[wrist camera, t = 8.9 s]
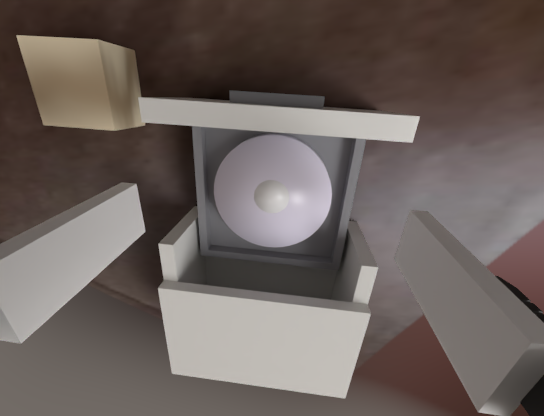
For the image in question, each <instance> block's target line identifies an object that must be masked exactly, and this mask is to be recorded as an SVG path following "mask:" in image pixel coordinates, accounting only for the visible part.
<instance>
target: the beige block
mask: <svg viewBox="0 0 544 416" xmlns="http://www.w3.org/2000/svg"><path fill="white" fill-rule="evenodd" d="M16 37H17V40H18V43H19V46H20V50H21V53H22V56H23V60H24V63H25V66H26V70H27V73H28V76H29V79H30V83H31V86H32V89H33V93H34V96H35V99H36V102H37V106H38V109H39V112H40V116H41V119H42V122H43V125H48V126H60V127H73V128H86V129H99V130H112V131H117V130H122V129H128V128H134V127H139V126H145V122H142V120H141V114H140V107H139V100H138V97H141V91H140V84H139V77H138V70H137V63H136V56H135V50H132V49H129V48H125V47H122V46H118V45H115V44H112V43H108V42H105V41H101V40H98V39H80V38H62V37H43V36H24V35H16Z"/></svg>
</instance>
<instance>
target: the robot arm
mask: <svg viewBox="0 0 544 416" xmlns="http://www.w3.org/2000/svg"><path fill="white" fill-rule="evenodd" d="M145 232H146V231H145V226H144V221H143V215H142V210H141V205H140V200H139V194H138V189H137V184H134V183H123V182H122V183H120V184H118V185H116V186H114V187H112V188H110V189H108V190H106V191H104V192H102V193H100V194H98V195H96V196H94V197H92V198H90V199H88V200H86V201H84V202H82V203H80V204H78V205H76V206H74V207H72V208H70V209H68V210H66V211H64V212H63V213H61V214H59V215H57V216H55V217H53V218H51V219H49V220H47V221H45V222H43V223H41V224H39V225H37V226H35V227H33V228H31V229H29V230H27V231H25V232H23V233H21V234H19V235H17V236H15V237H13V238H11V239H9V240H7V241H5V242H3V243H1V244H0V340H1V341H8V342H14V343H22V342H23V341H24V340H26V339H27V338H28V337H29V336H30V335H31V334H32V333H33V332H35V331H36V330H37V329H38V328H39V327H40V326H41V325H42V324H43V323H45V322H46V321H47V320H48V319H49V318H50V317H51V316H52V315H53V314H55V313H56V312H57V311H58V310H59V309H60V308H61V307H62V306H63V305H64V304H66V303H67V302H68V301H69V300H70V299H71V298H72V297H73V296H75V295H76V294H77V293H78V292H79V291H80V290H81V289H82V288H83V287H85V286H86V285H87V284H88V283H89V282H90V281H91V280H92V279H93V278H95V277H96V276H97V275H98V274H99V273H100V272H101V271H102V270H103V269H105V268H106V267H107V266H108V265H109V264H110V263H111V262H112V261H113V260H115V259H116V258H117V257H118V256H119V255H120V254H121V253H122V252H123V251H125V250H126V249H127V248H128V247H129V246H130V245H131V244H132V243H133V242H135V241H136V240H137V239H138V238H139V237H140V236H141V235H142V234H143V233H145ZM394 260H395V262H396V264H397V265H398V267H399V269H400V271H401V273H402V274H403V276H404V278H405V280H406V282H407V284H408V285H409V287H410V289H411V291H412V293H413V295H414V296H415V298H416V300H417V302H418V304H419V305H420V307H421V309H422V311H423V313H424V315H425V316H426V318H427V320H428V322H429V324H430V325H431V327H432V329H433V331H434V333H435V335H436V336H437V338H438V340H439V342H440V344H441V346H442V347H443V349H444V351H445V353H446V354H447V356H448V358H449V360H450V362H451V364H452V366H453V367H454V369H455V371H456V373H457V375H458V376H459V378H460V380H461V382H462V384H463V386H464V387H465V389H466V391H467V393H468V395H469V397H470V398H471V400H472V402H473V404H474V406H475V407H476V409H477V411H478V412H480V413H486V414H493V415H500V416H510V415H511V414H512V413H513V412H514V410H515V409H516V408H517V407H518V406H519V405H520V404H522V406H523V407H524V408H525V410H526V411H527V413H528V414H529V415H530V416H544V314H542V311H541V310H540V309H539V308H538V307H537V306H536V305H535V304H533V303H530V300H529V299H528V298H527V297H526V296H525V295H524V294H523V293H522V292H520V291H519V290H518V289H517V288H516V287H514V286H513V285H511V284H510V283H508V282H506V281H505V280H503V279H502V278H500V277H498V276H494V275H493V274H492V273H491V272H490V271H489V270H488V269H487V268H486V267H485V266H484V265H483V264H482V263H481V262H480V261H479V260H478V259H477V258H476V257H475V256H473V255H472V254H471V253H470V252H469V251H468V250H467V249H466V248H465V247H464V246H463V245H462V244H461V243H460V242H459V241H458V240H457V239H456V238H455V237H454V236H453V235H452V234H451V233H449V232H448V231H447V230H446V229H445V228H444V227H443V226H442V225H441V224H440V223H439V222H438V221H437V220H436V219H435V218H434V217H433V216H432V215H431V214H430V213H429V212H427V211H416V210H410V212H409V215H408V218H407V221H406V224H405V227H404V230H403V233H402V236H401V239H400V242H399V245H398V248H397V251H396V254H395V257H394Z"/></svg>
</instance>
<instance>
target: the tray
mask: <svg viewBox="0 0 544 416" xmlns="http://www.w3.org/2000/svg"><path fill="white" fill-rule="evenodd" d="M229 92H230V100H215V99H200V98H174V97H138V100H139V107H140V114H141V120H142V122H145V123H159V124H172V125H185V126H192V135H193V150H194V164H195V178H196V193H197V207H198V221H199V236H200V250H201V255H202V256H211V257H220V258H229V259H238V260H247V261H256V262H265V263H274V264H283V265H293V266H302V267H311V268H320V269H329V270H338V271H339V266H340V261H341V257H342V252H343V247H344V242H345V238H346V233H347V228H348V223H349V219H350V214H351V209H352V204H353V200H354V195H355V190H356V186H357V181H358V176H359V171H360V167H361V162H362V157H363V152H364V148H365V143H366V139H372V140H385V141H398V142H411V143H412V142H413V139H414V136H415V132H416V129H417V125H418V122H419V118H420V116H413V115H407V114H400V113H393V112H387V111H378V110H363V109H349V108H334V107H324V99H325V97H324V96H309V95H293V94H278V93H262V92H247V91H231V90H229ZM266 133H281V134H286V135H290V136H293V137H295V138H298V139H300V140H302V141H303V142H305V143H307V144H308V145H309V146H310V147H311V148H313V149H314V151H315V152H316V153H317V154H318V155H319V157H320V158H321V160H322V161H323V163H324V165H325V167H326V170H327V173H328V176H329V179H330V182H331V188H332V199H331V205H330V209H329V212H328V215H327V217H326V219H325V220H324V222H323V224H322V225H321V226H320V227H319V229H318V230H317V231H316V232H315V233H314V234H312V235H311V236H310V237H308V238H307V239H305V240H303V241H301V242H299V243H297V244H294V245H290V246H285V247H265V246H260V245H256V244H253V243H251V242H248V241H247V240H245V239H243V238H241V237H240V236H238V235H237V234H236V233H234V232H233V231H232V230H231V229H230V228H229V227H228V226H227V225H226V223H225V222H224V220H223V219H222V217H221V215H220V214H219V211H218V209H217V206H216V202H215V198H214V182H215V177H216V174H217V171H218V168H219V166H220V164H221V163H222V161H223V160H224V158H225V157H226V156H227V155H228V154H229V153H230V152H231V151H232V150H233V149H234V148H236V147H237V146H238V145H239V144H241V143H242V142H244V141H245V140H247V139H249V138H251V137H254V136H257V135H260V134H266Z"/></svg>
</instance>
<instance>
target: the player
mask: <svg viewBox="0 0 544 416" xmlns="http://www.w3.org/2000/svg"><path fill="white" fill-rule="evenodd" d="M158 245H159V252H160V258H161V265H162V272H163V278H164V280H163V282H162V283H161V285H160V286H159V287H158V292H159V298H160V304H161V310H162V316H163V322H164V328H165V334H166V340H167V346H168V352H169V358H170V364H171V370H172V374H179V375H186V376H192V377H199V378H207V379H214V380H220V381H227V382H234V383H241V384H248V385H255V386H263V387H269V388H276V389H283V390H290V391H297V392H304V393H311V394H318V395H325V396H332V397H339V398H345V397H346V394H347V391H348V388H349V384H350V381H351V378H352V374H353V371H354V368H355V365H356V361H357V358H358V355H359V351H360V348H361V345H362V341H363V338H364V335H365V332H366V328H367V325H368V322H369V318H370V315H371V313H370V310H369V307H368V301H369V298H370V295H371V291H372V288H373V284H374V281H375V277H376V274H377V270H378V266H377V263H376V261H375V259H374V257H373V255H372V253H371V251H370V249H369V246H368V244H367V242H366V240H365V238H364V236H363V234H362V232H361V229H360V227H359V225H358V223H357V222H356V221H349V223H348V228H347V233H346V238H345V242H344V247H343V252H342V257H341V261H340V266H339V271H338V270H329V269H320V268H311V267H302V266H293V265H283V264H274V263H265V262H256V261H247V260H238V259H229V258H220V257H211V256H202V255H201V250H200V236H199V221H198V207H197V206H194V207H193V208H192V209H191V210H190V211H189V212H188V213H187V214H186V215H185V216H184V218H183V219H182V220H181V221H180V222H179V223H178V224H177V225H176V226H175V227H174V228H173V229H172V230H171V231H170V232H169V233H168V234H167V235H166V236H165V237H164V238H163V239H162V240H161V241H160V242H159V243H158Z"/></svg>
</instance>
